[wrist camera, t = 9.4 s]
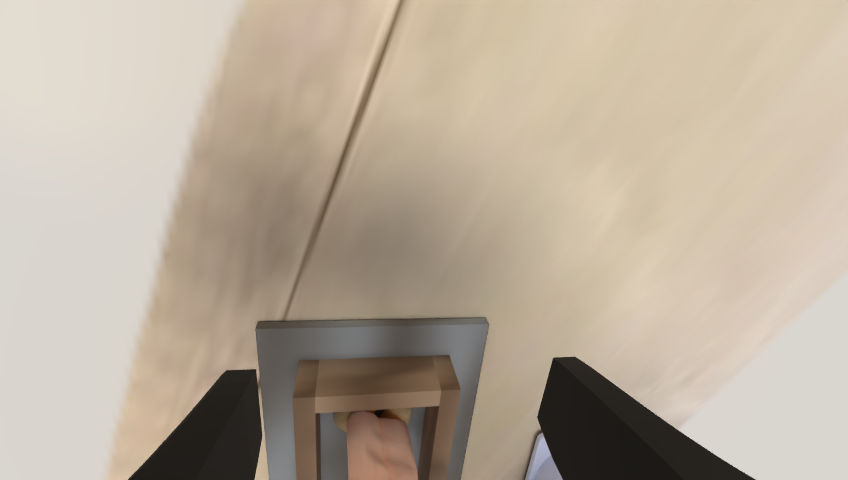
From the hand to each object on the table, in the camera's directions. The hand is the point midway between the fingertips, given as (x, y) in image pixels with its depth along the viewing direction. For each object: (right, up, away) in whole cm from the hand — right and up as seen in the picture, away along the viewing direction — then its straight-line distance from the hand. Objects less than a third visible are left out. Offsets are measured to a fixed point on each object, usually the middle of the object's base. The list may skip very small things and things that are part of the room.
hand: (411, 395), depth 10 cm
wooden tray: (-3, -8, +14) cm, 17 cm away
